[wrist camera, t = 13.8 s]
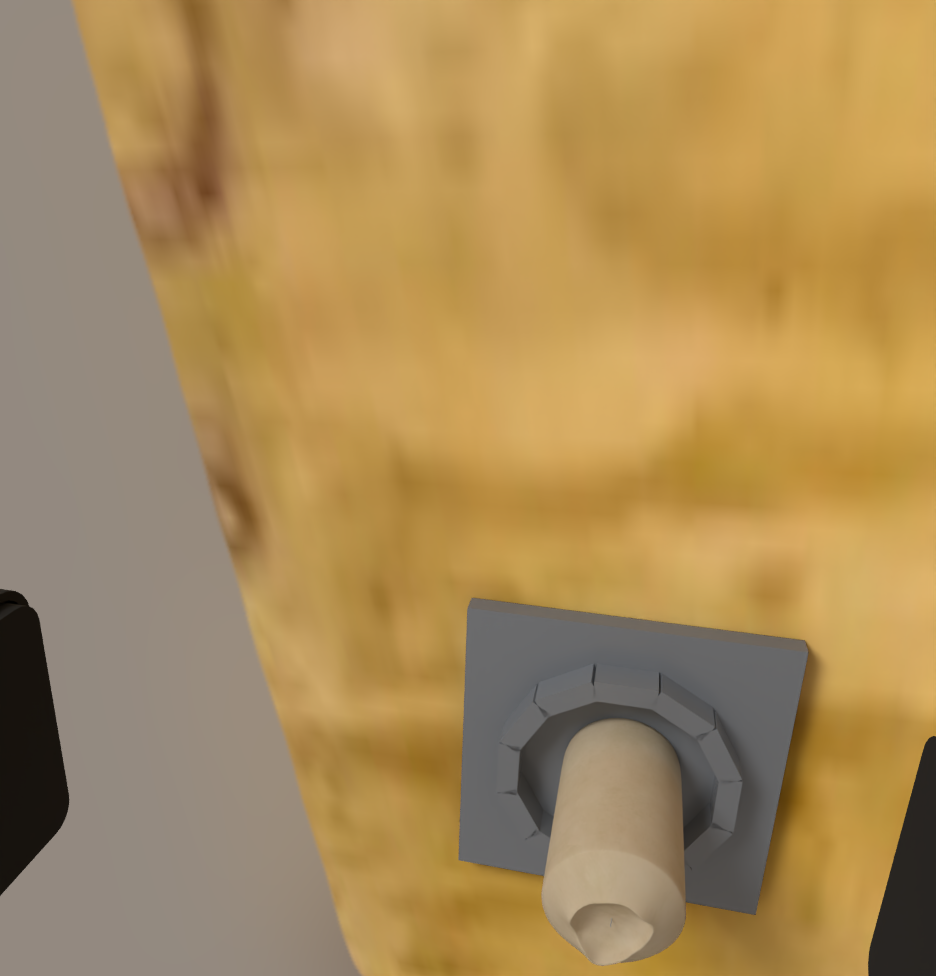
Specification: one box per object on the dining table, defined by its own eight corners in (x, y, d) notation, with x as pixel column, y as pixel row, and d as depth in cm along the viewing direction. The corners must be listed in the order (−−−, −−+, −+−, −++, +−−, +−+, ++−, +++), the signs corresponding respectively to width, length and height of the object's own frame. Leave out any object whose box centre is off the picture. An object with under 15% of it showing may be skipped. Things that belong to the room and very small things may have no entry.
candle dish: (804, 640, 38) (814, 671, 36) (753, 898, 43) (758, 940, 41) (472, 597, 41) (460, 623, 38) (462, 846, 46) (452, 881, 44)
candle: (648, 829, 42) (645, 1015, 33) (545, 780, 42) (513, 951, 33) (702, 748, 40) (714, 922, 31) (593, 697, 40) (573, 855, 31)
